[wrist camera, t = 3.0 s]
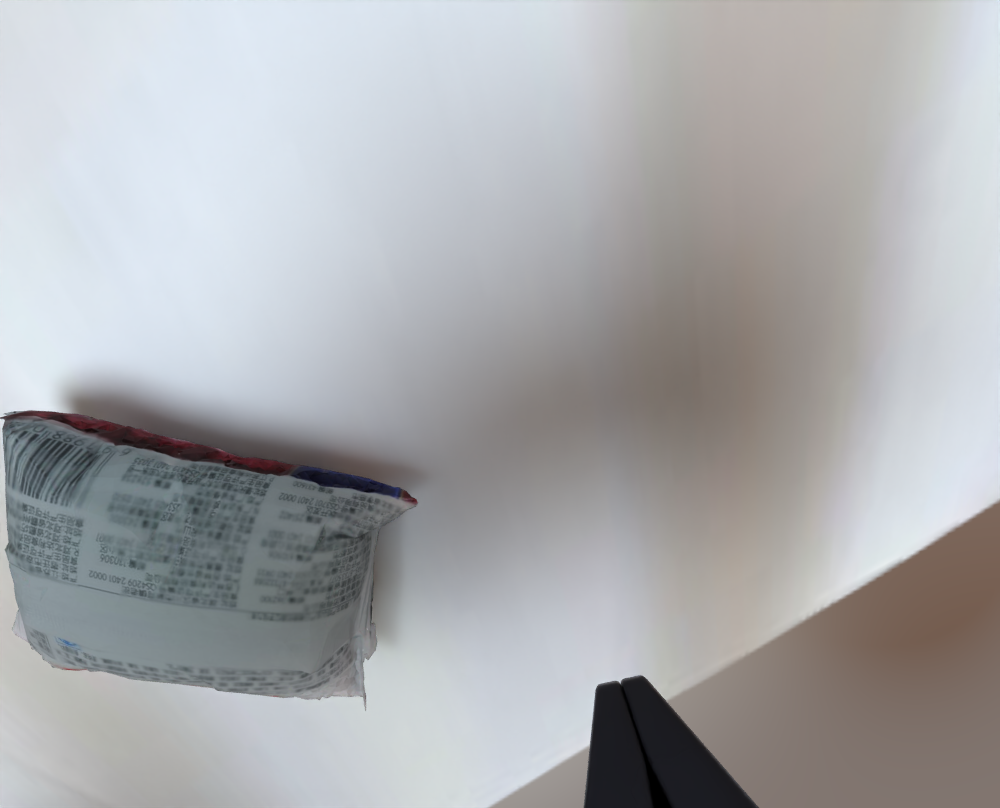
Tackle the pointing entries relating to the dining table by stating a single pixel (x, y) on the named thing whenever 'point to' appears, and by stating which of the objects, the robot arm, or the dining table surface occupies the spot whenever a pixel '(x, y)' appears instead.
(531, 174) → the dining table surface
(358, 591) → the packaged food
